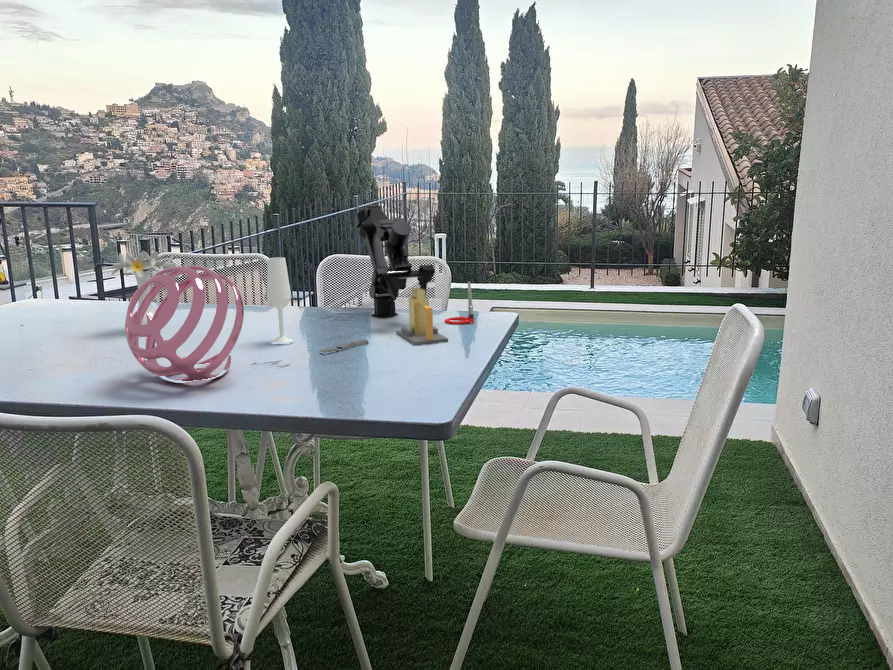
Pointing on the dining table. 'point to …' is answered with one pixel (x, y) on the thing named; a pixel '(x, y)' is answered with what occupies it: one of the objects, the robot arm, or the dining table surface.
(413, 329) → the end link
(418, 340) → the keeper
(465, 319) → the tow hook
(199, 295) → the pink lattice ball
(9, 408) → the dining table surface
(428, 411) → the dining table surface
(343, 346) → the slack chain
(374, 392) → the dining table surface
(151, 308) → the flower vase
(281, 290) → the champagne flute
